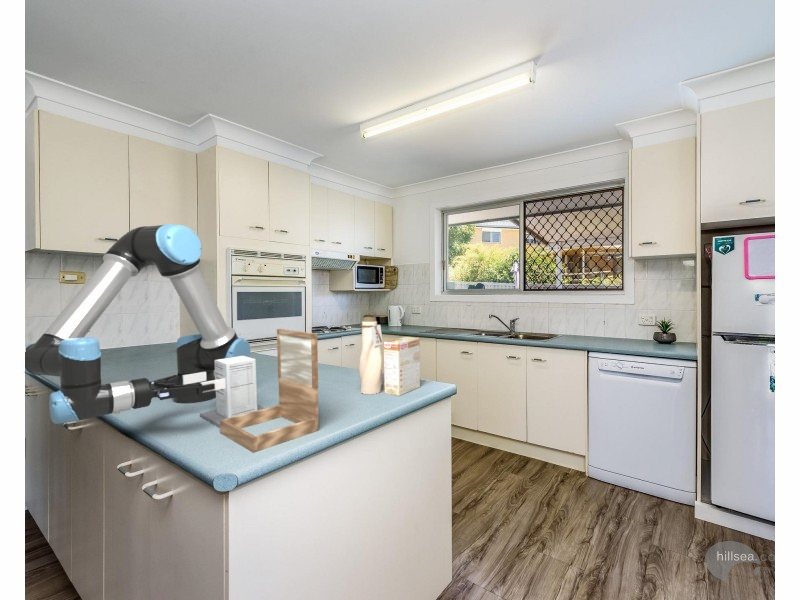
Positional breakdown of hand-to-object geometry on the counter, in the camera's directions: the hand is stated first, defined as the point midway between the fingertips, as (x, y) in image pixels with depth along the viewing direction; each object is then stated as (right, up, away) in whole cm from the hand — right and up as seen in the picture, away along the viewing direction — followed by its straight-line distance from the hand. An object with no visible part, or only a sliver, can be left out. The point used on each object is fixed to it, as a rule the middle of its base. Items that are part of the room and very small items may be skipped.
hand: (215, 379), depth 116 cm
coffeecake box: (+56, -11, +33) cm, 66 cm away
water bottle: (+45, -11, +31) cm, 55 cm away
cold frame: (+19, -13, -8) cm, 24 cm away
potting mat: (+4, -12, +5) cm, 14 cm away
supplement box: (+4, -12, +5) cm, 13 cm away
